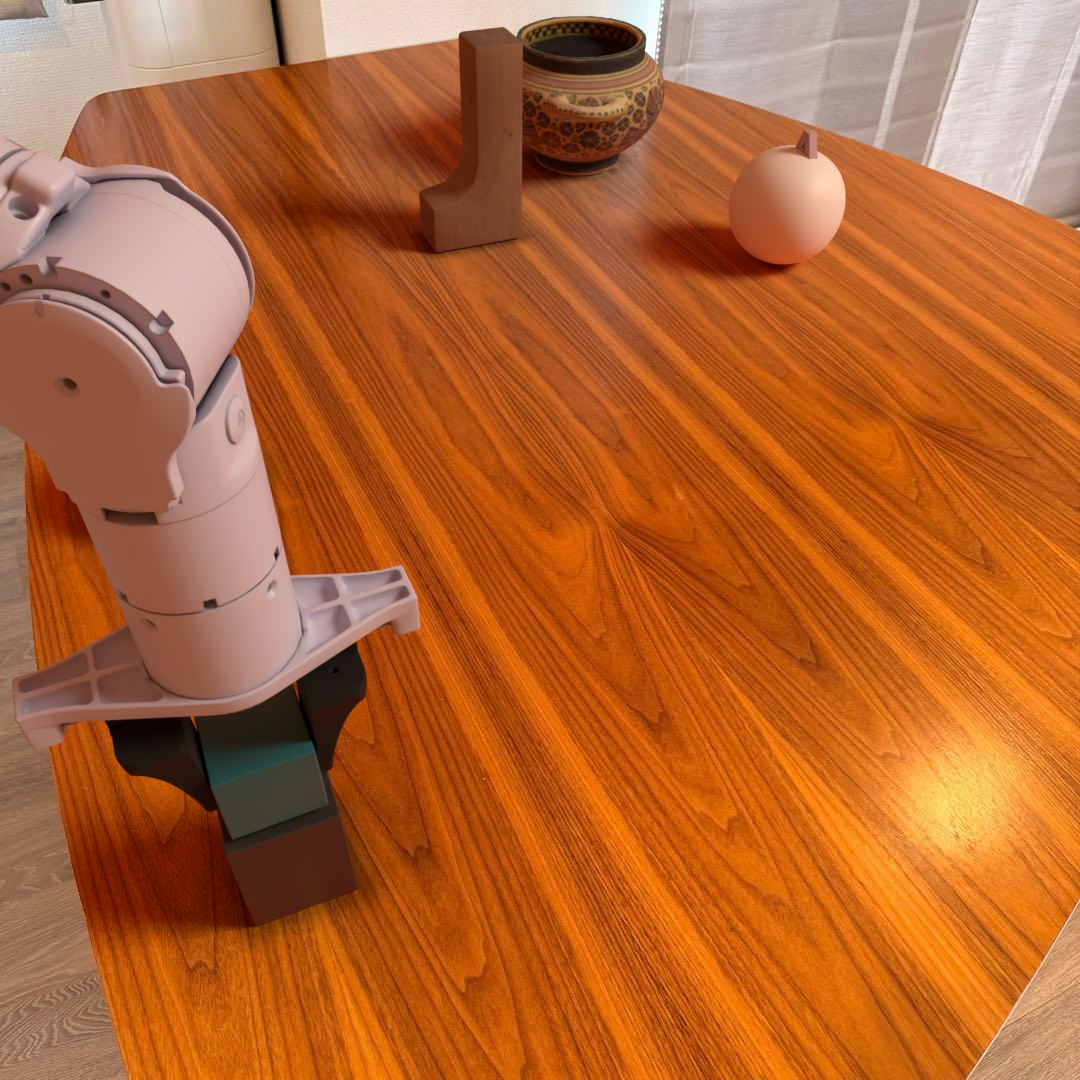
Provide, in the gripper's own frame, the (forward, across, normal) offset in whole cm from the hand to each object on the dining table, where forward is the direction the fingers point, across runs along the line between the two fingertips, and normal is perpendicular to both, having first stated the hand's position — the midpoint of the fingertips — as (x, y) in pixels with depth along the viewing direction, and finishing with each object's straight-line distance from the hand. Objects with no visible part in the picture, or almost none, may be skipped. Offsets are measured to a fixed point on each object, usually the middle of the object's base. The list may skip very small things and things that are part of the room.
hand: (267, 771), depth 42 cm
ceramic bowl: (+8, -49, -70) cm, 86 cm away
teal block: (+1, 0, 0) cm, 1 cm away
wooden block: (+8, -32, -58) cm, 66 cm away
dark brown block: (+8, 0, 0) cm, 8 cm away
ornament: (+8, -57, -43) cm, 72 cm away
